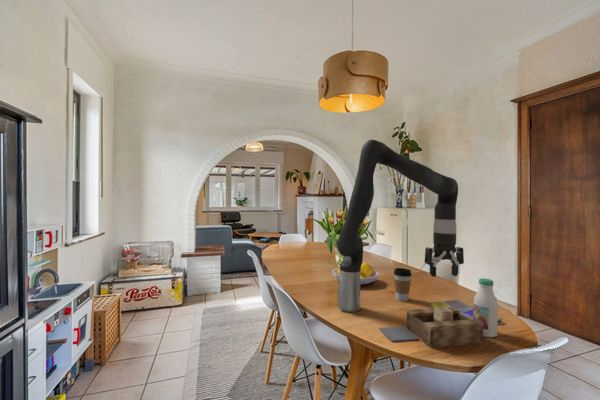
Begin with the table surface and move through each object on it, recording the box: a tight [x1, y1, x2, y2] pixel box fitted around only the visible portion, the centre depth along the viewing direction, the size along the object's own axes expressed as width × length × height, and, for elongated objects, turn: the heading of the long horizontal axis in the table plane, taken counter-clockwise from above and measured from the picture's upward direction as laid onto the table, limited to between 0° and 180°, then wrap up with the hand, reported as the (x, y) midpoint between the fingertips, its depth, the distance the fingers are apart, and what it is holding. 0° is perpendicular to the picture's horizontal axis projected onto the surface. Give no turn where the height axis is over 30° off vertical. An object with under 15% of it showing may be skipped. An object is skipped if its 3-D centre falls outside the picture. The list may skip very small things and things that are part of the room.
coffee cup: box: [393, 267, 412, 302], centre depth 147 cm, size 8×8×15 cm
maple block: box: [434, 307, 453, 322], centre depth 109 cm, size 4×4×7 cm
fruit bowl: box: [331, 262, 380, 286], centre depth 178 cm, size 28×27×11 cm
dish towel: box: [429, 299, 504, 326], centre depth 129 cm, size 18×24×3 cm
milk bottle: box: [472, 277, 499, 338], centre depth 111 cm, size 8×8×20 cm
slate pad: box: [378, 325, 419, 343], centre depth 109 cm, size 10×10×1 cm
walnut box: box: [406, 307, 484, 349], centre depth 109 cm, size 20×15×7 cm
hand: (443, 275), depth 109 cm, fingers open, 8 cm apart
